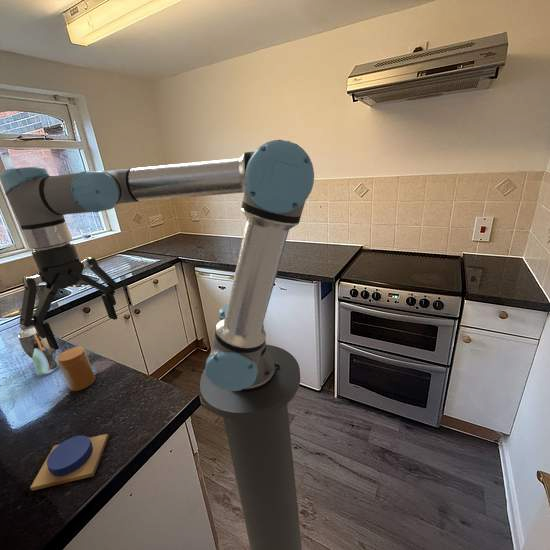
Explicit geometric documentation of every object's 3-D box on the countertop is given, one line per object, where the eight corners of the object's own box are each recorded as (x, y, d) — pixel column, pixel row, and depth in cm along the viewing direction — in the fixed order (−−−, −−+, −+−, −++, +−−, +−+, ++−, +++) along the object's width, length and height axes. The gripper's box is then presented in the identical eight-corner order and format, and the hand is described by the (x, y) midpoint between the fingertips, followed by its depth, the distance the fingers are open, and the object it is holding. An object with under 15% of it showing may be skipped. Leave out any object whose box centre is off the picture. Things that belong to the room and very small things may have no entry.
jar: (99, 372, 96) (88, 344, 92) (90, 388, 89) (78, 358, 85) (75, 377, 95) (63, 349, 91) (64, 393, 88) (51, 363, 84)
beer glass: (64, 365, 102) (48, 327, 96) (43, 378, 96) (24, 339, 90) (52, 361, 104) (36, 324, 99) (30, 374, 99) (11, 335, 93)
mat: (109, 436, 72) (107, 433, 72) (93, 476, 63) (92, 473, 63) (55, 448, 70) (53, 445, 70) (31, 491, 61) (29, 487, 61)
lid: (83, 471, 63) (80, 464, 62) (41, 480, 62) (37, 473, 61) (98, 438, 71) (96, 432, 70) (61, 445, 70) (58, 439, 69)
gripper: (100, 230, 74) (125, 305, 82) (-32, 263, 55) (17, 358, 63) (117, 231, 70) (141, 310, 78) (-18, 267, 51) (32, 368, 59)
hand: (86, 332), depth 70 cm, fingers open, 13 cm apart
